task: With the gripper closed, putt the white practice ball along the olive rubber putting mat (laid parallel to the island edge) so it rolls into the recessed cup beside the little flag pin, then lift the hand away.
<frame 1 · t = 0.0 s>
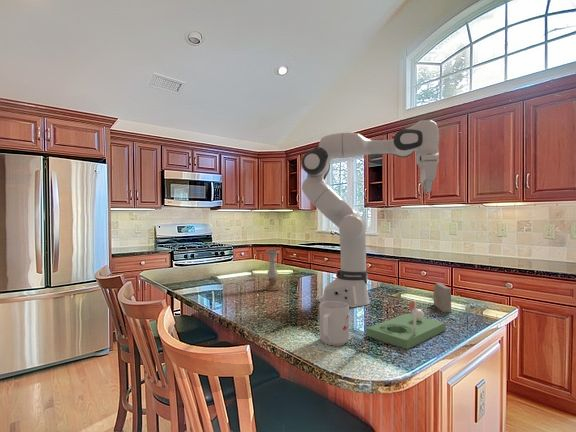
hand: (427, 192, 137), 48 cm above the counter, fingers open, 8 cm apart
mug: (332, 343, 98), on the counter
green: (406, 333, 106), on the counter
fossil: (441, 308, 136), on the counter
ball: (417, 315, 111), point 4 cm above the counter, touching green
candle holder: (272, 289, 172), on the counter
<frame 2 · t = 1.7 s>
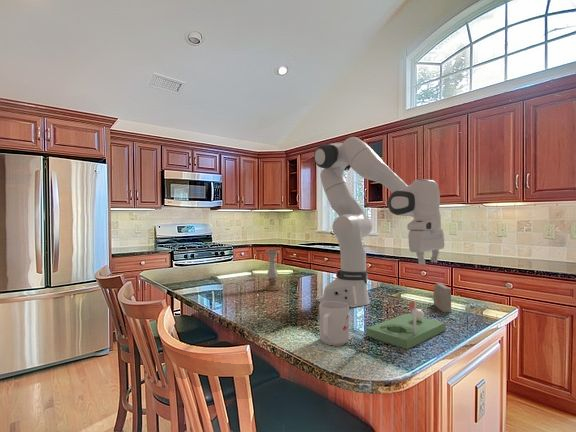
hand: (428, 263, 116), 21 cm above the counter, fingers open, 8 cm apart
nothing on the counter moved.
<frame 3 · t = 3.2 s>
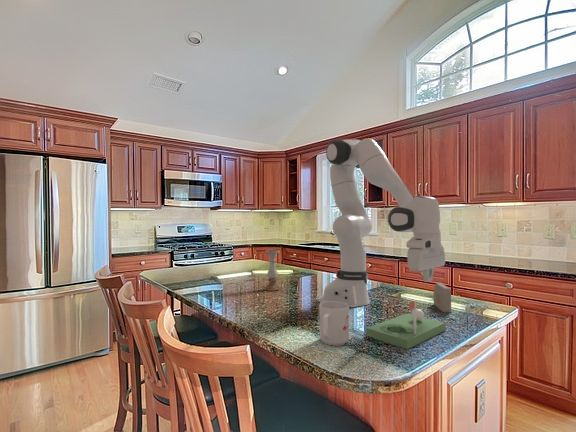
hand: (428, 281, 115), 15 cm above the counter, fingers closed
nothing on the counter moved.
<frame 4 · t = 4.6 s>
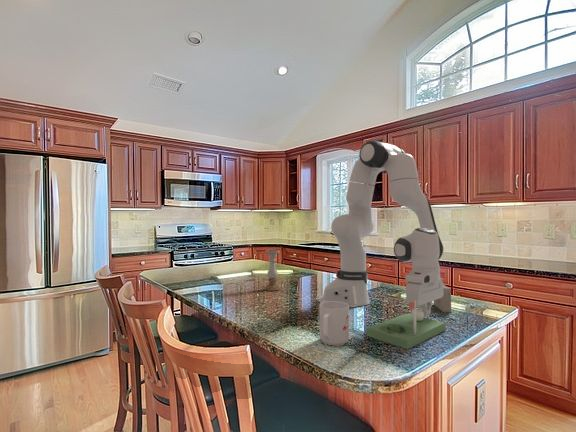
hand: (426, 314, 115), 4 cm above the counter, fingers closed
nothing on the counter moved.
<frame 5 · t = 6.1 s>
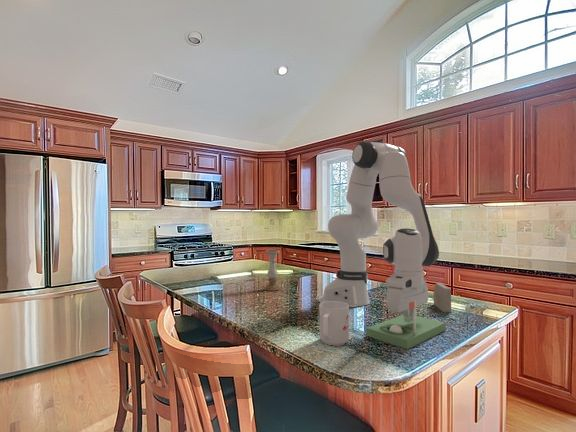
hand: (408, 321, 107), 4 cm above the counter, fingers closed
ball: (395, 331, 102), point 2 cm above the counter, tilted 59°
everything else where it was.
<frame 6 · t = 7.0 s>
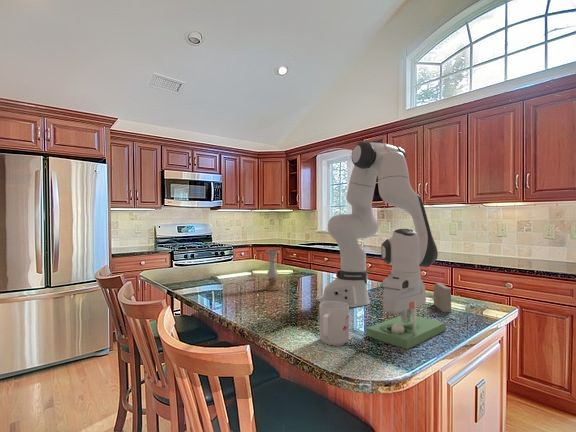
hand: (405, 322, 106), 4 cm above the counter, fingers closed
ball: (398, 330, 103), point 2 cm above the counter, tilted 35°
everything else where it was.
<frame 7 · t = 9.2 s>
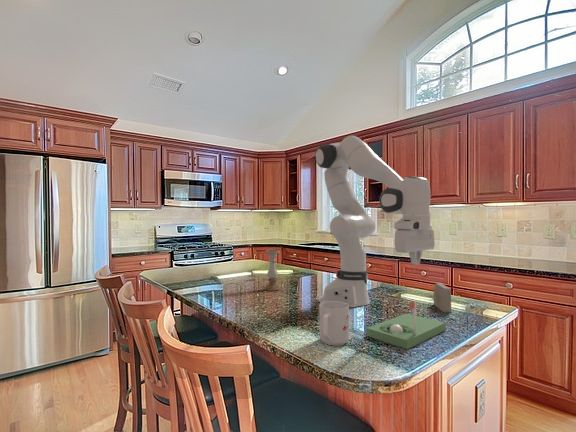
hand: (415, 264, 112), 22 cm above the counter, fingers closed
ball: (396, 331, 103), point 2 cm above the counter, tilted 48°
everything else where it was.
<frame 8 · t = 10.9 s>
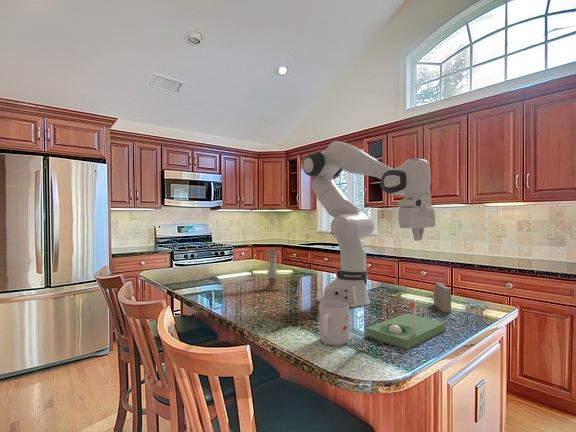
hand: (418, 240, 120), 29 cm above the counter, fingers closed
ball: (395, 331, 102), point 2 cm above the counter, tilted 64°
everything else where it was.
at the end: ball 0.9 cm from the target spot on the green, point 2.0 cm above the green's base; ball point 2.0 cm above the counter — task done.
